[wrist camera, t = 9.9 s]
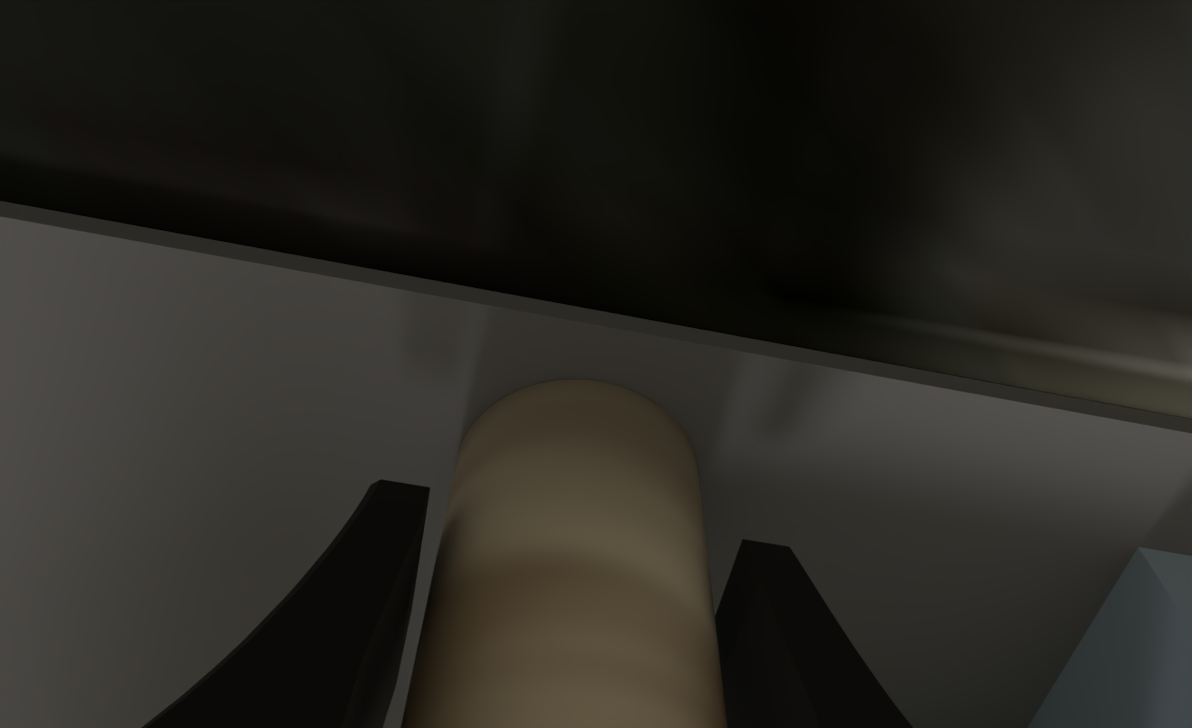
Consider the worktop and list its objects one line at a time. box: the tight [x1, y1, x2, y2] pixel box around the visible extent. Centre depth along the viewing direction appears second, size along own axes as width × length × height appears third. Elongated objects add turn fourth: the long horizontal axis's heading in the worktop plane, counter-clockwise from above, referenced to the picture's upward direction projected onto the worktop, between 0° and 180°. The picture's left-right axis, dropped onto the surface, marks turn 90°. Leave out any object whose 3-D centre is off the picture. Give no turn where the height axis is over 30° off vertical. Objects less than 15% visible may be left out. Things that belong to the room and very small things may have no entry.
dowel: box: [401, 379, 728, 728], centre depth 12 cm, size 3×3×7 cm
